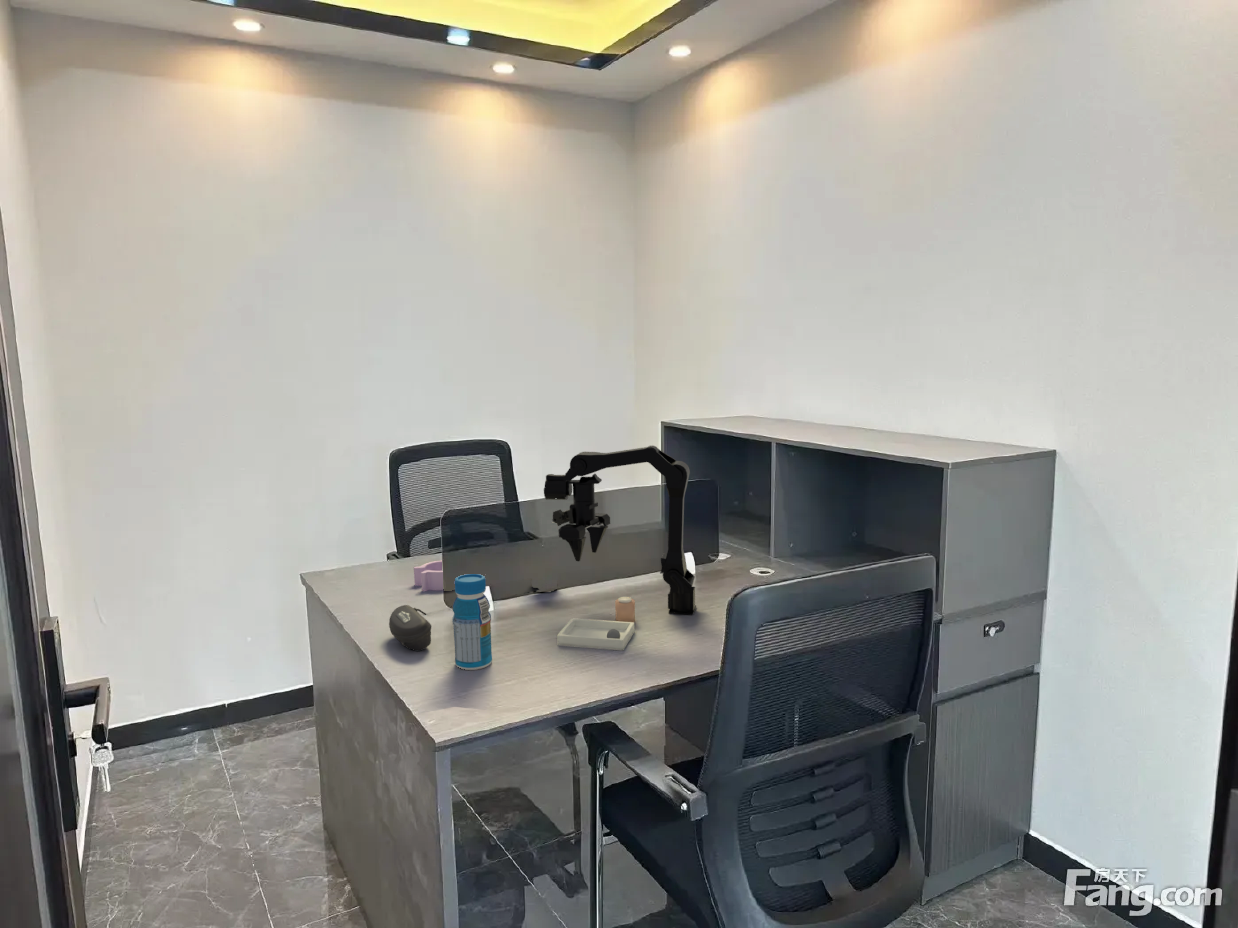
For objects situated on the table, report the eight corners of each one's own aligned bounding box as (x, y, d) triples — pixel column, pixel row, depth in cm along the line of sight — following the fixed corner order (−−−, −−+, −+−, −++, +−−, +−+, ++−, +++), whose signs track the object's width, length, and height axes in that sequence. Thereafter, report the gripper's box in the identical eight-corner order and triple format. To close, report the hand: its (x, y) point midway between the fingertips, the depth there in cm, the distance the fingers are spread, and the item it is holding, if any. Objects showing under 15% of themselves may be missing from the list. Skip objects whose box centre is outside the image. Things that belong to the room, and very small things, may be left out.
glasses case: (382, 635, 194) (380, 605, 193) (424, 627, 199) (422, 597, 198) (403, 660, 179) (401, 627, 177) (448, 650, 184) (446, 618, 183)
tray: (634, 632, 193) (634, 622, 193) (623, 650, 182) (622, 640, 181) (572, 627, 197) (572, 617, 197) (557, 645, 186) (557, 635, 185)
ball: (621, 640, 186) (621, 627, 186) (618, 645, 183) (618, 632, 183) (608, 639, 187) (608, 626, 187) (605, 644, 184) (605, 631, 184)
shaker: (637, 618, 203) (636, 596, 202) (632, 625, 198) (632, 602, 197) (618, 617, 204) (617, 595, 203) (613, 624, 199) (613, 601, 198)
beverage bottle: (459, 674, 170) (454, 585, 167) (451, 660, 178) (446, 574, 175) (497, 667, 174) (493, 580, 170) (487, 653, 181) (484, 570, 178)
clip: (475, 576, 243) (474, 554, 242) (491, 586, 232) (490, 563, 231) (411, 587, 232) (410, 565, 231) (425, 598, 222) (424, 575, 221)
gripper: (574, 491, 220) (576, 545, 223) (539, 504, 204) (542, 562, 206) (610, 493, 215) (612, 549, 218) (577, 507, 199) (579, 566, 201)
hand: (586, 556), depth 211 cm, fingers open, 9 cm apart
